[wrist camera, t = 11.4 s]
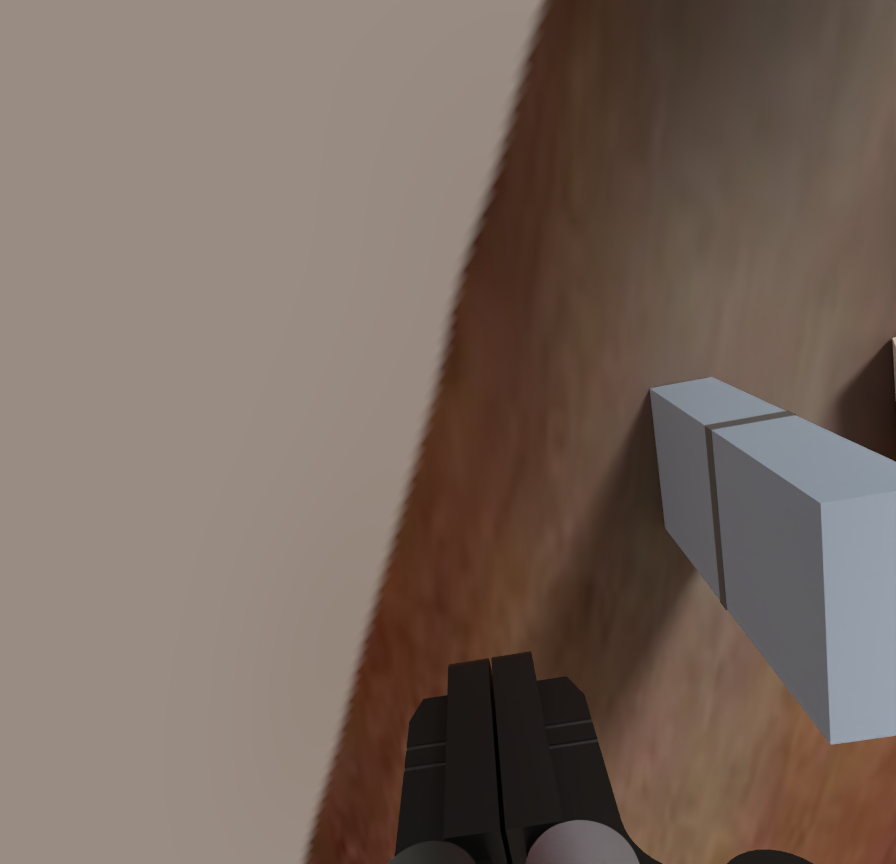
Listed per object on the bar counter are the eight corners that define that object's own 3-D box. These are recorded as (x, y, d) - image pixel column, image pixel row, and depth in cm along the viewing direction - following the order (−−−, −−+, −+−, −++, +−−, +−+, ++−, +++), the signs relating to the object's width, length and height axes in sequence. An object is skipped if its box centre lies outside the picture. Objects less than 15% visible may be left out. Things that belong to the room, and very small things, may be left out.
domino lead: (648, 387, 20) (819, 502, 11) (712, 376, 20) (943, 481, 10) (664, 529, 22) (829, 745, 12) (724, 518, 21) (940, 729, 12)
